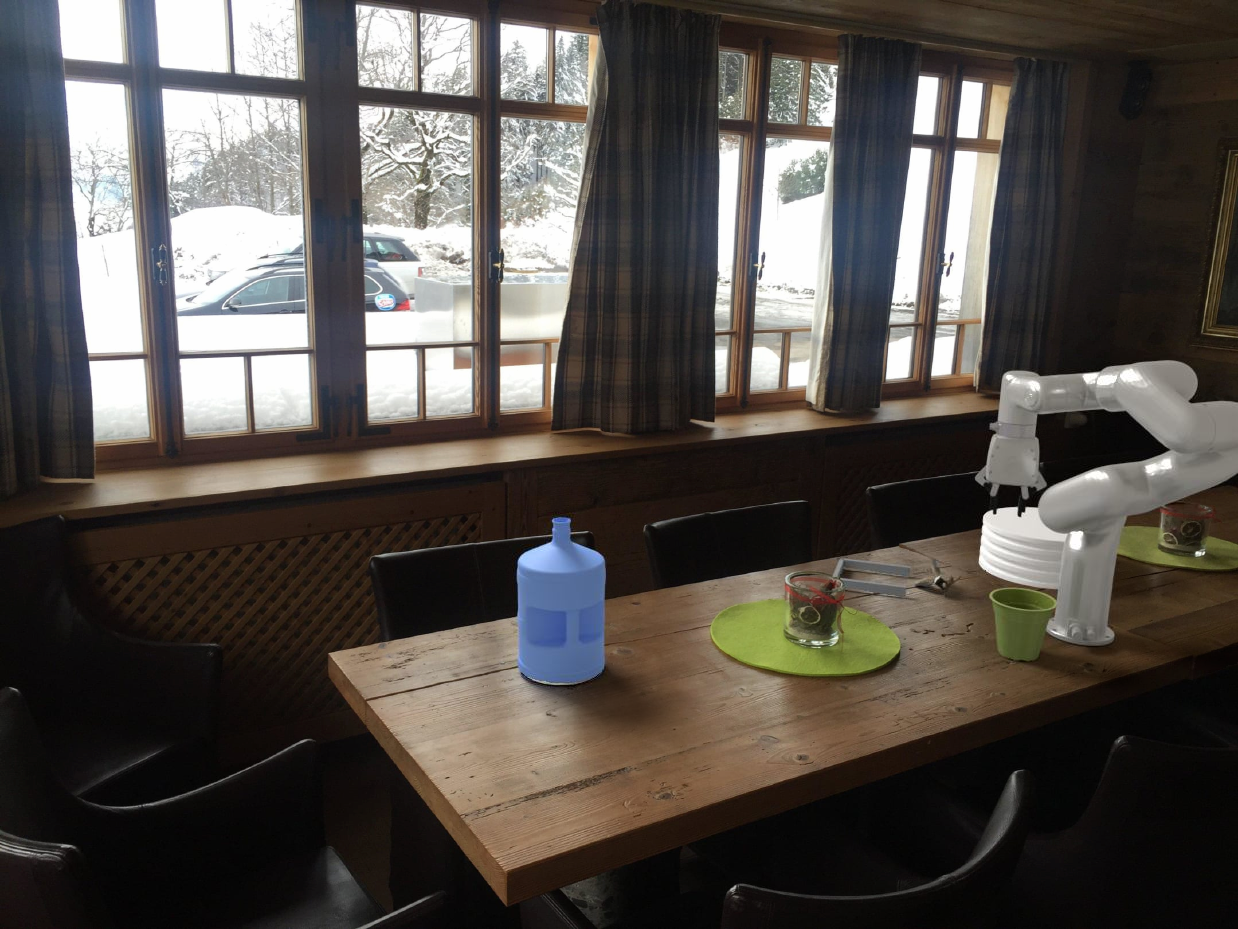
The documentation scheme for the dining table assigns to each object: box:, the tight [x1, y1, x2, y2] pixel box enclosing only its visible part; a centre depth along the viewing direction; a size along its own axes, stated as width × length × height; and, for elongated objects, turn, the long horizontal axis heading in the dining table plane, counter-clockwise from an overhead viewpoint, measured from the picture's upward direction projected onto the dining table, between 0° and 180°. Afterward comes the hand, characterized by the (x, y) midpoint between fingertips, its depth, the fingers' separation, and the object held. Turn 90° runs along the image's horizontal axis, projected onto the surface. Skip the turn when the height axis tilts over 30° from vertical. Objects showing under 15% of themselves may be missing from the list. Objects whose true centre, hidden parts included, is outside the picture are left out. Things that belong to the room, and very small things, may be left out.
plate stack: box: [978, 506, 1067, 590], centre depth 237 cm, size 28×28×12 cm
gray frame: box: [831, 557, 912, 598], centre depth 227 cm, size 15×16×2 cm
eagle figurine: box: [914, 557, 962, 596], centre depth 222 cm, size 8×7×9 cm
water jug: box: [516, 517, 607, 683], centre depth 178 cm, size 16×16×28 cm
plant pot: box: [989, 587, 1058, 662], centre depth 188 cm, size 12×12×11 cm
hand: (1006, 513), depth 214 cm, fingers open, 4 cm apart
